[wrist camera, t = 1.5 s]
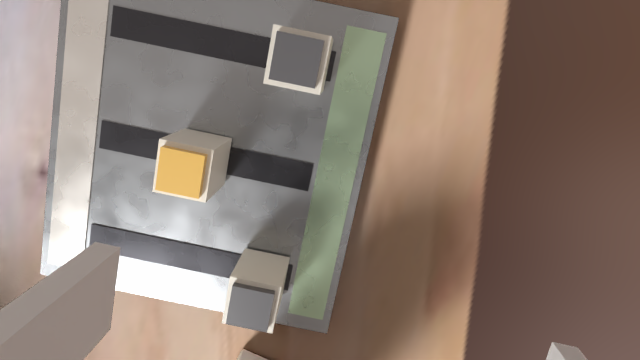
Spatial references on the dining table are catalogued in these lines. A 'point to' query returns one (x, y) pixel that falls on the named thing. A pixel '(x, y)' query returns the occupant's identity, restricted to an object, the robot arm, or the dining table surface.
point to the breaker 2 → (298, 59)
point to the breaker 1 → (255, 290)
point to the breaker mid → (191, 164)
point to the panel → (220, 119)
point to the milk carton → (249, 356)
